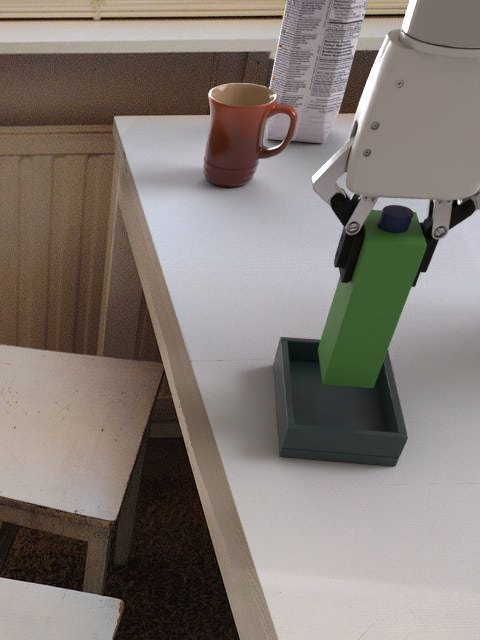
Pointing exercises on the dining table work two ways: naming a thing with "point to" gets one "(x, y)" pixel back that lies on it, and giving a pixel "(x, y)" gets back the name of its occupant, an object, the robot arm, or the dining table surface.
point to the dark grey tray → (334, 411)
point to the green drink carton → (371, 298)
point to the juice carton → (314, 65)
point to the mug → (241, 132)
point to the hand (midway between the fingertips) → (376, 275)
